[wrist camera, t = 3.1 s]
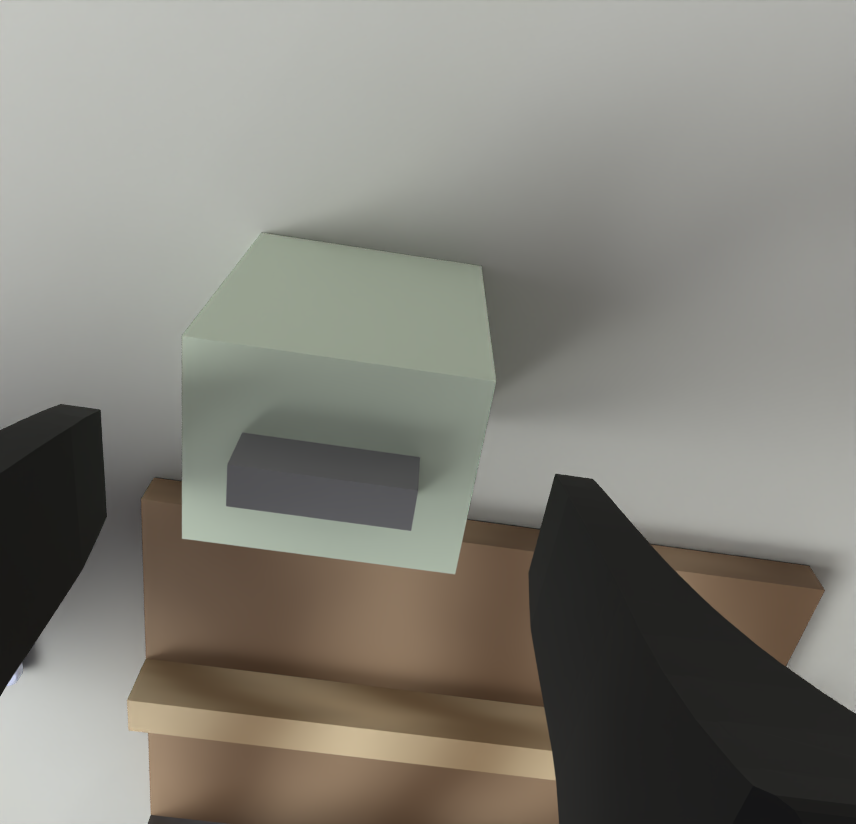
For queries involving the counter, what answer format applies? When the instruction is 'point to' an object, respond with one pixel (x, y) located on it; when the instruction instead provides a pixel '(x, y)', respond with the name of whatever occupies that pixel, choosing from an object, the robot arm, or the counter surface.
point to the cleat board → (372, 676)
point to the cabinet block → (337, 404)
